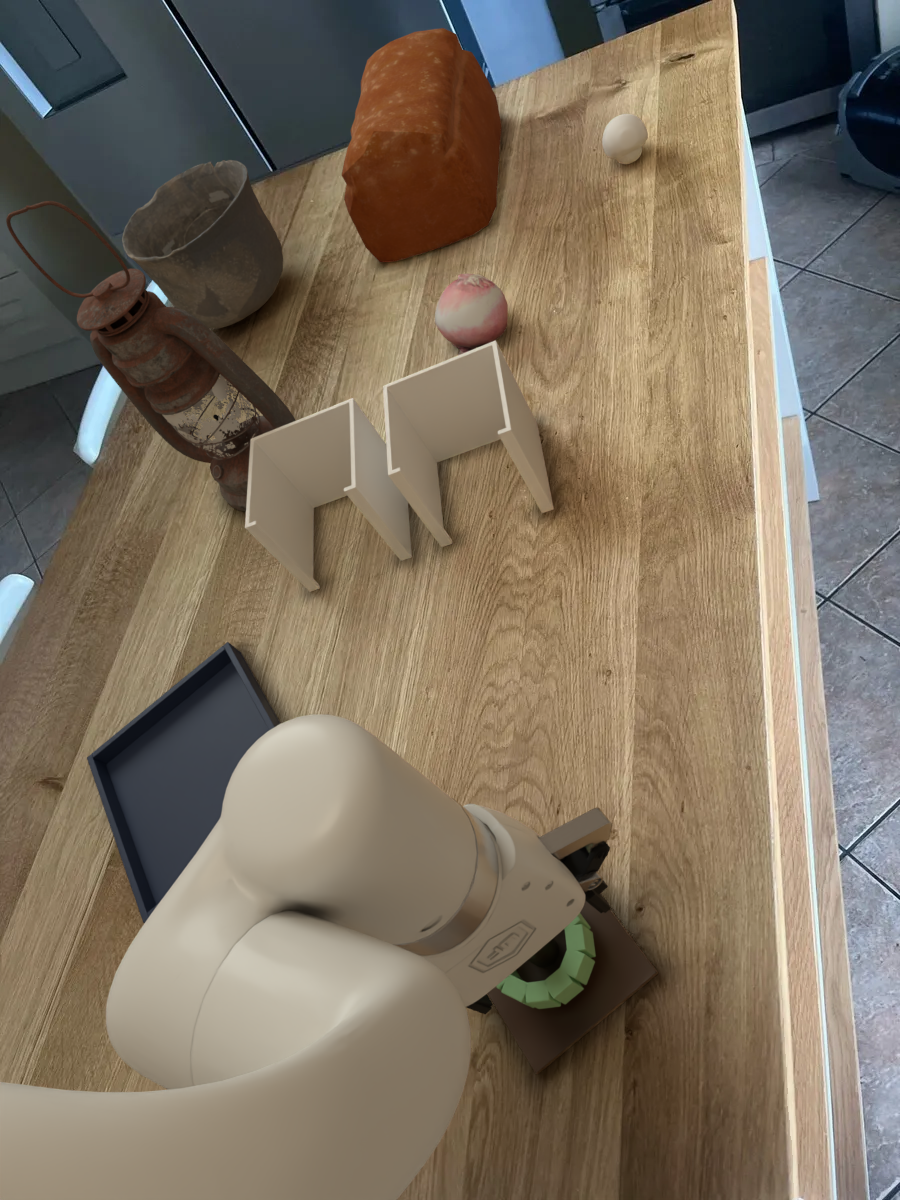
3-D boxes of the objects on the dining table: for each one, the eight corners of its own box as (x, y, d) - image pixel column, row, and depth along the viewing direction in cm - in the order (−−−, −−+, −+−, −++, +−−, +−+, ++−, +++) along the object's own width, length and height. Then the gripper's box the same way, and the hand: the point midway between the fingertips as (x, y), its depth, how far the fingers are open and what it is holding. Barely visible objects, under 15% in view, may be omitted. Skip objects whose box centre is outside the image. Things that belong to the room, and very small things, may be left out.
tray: (160, 929, 74) (143, 923, 73) (102, 765, 87) (86, 757, 85) (321, 796, 75) (307, 787, 73) (240, 652, 87) (227, 641, 85)
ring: (533, 1031, 57) (520, 1026, 55) (477, 942, 61) (463, 934, 59) (616, 962, 57) (606, 954, 55) (554, 877, 61) (543, 868, 59)
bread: (371, 273, 111) (308, 169, 100) (390, 156, 124) (337, 51, 113) (500, 230, 105) (449, 113, 93) (507, 111, 118) (463, -5, 106)
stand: (538, 1074, 57) (498, 1062, 52) (458, 944, 64) (416, 921, 58) (658, 973, 57) (632, 950, 52) (567, 853, 64) (535, 822, 58)
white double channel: (536, 422, 87) (495, 340, 78) (553, 509, 80) (511, 429, 72) (310, 506, 94) (250, 438, 85) (309, 591, 87) (244, 528, 79)
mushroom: (616, 180, 101) (605, 140, 97) (603, 159, 104) (591, 120, 100) (658, 157, 100) (648, 116, 96) (643, 137, 103) (632, 97, 99)
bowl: (295, 234, 124) (231, 135, 112) (326, 298, 112) (258, 196, 101) (188, 303, 126) (115, 214, 114) (208, 373, 115) (129, 282, 103)
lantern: (224, 440, 106) (-13, 185, 79) (341, 423, 99) (125, 136, 72) (193, 517, 101) (-70, 273, 74) (314, 505, 94) (72, 229, 67)
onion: (532, 328, 94) (507, 275, 88) (476, 376, 94) (448, 326, 88) (489, 301, 99) (464, 249, 93) (436, 347, 99) (408, 297, 93)
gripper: (317, 1054, 42) (461, 1083, 55) (602, 815, 42) (678, 900, 55) (258, 922, 47) (404, 978, 60) (514, 708, 47) (603, 810, 60)
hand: (535, 941), depth 58 cm, fingers open, 9 cm apart
